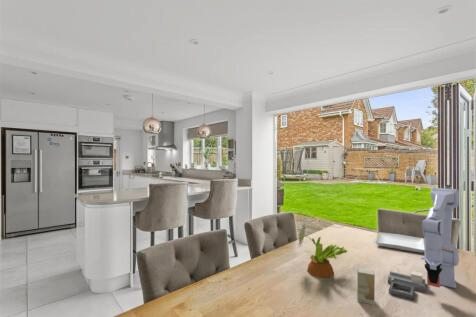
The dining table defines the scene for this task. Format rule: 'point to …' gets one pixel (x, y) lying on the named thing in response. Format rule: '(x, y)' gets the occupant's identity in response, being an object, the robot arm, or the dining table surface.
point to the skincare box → (365, 285)
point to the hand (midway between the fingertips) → (433, 280)
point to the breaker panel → (406, 281)
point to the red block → (433, 283)
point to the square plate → (400, 242)
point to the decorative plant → (321, 257)
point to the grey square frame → (400, 293)
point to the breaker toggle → (416, 277)
